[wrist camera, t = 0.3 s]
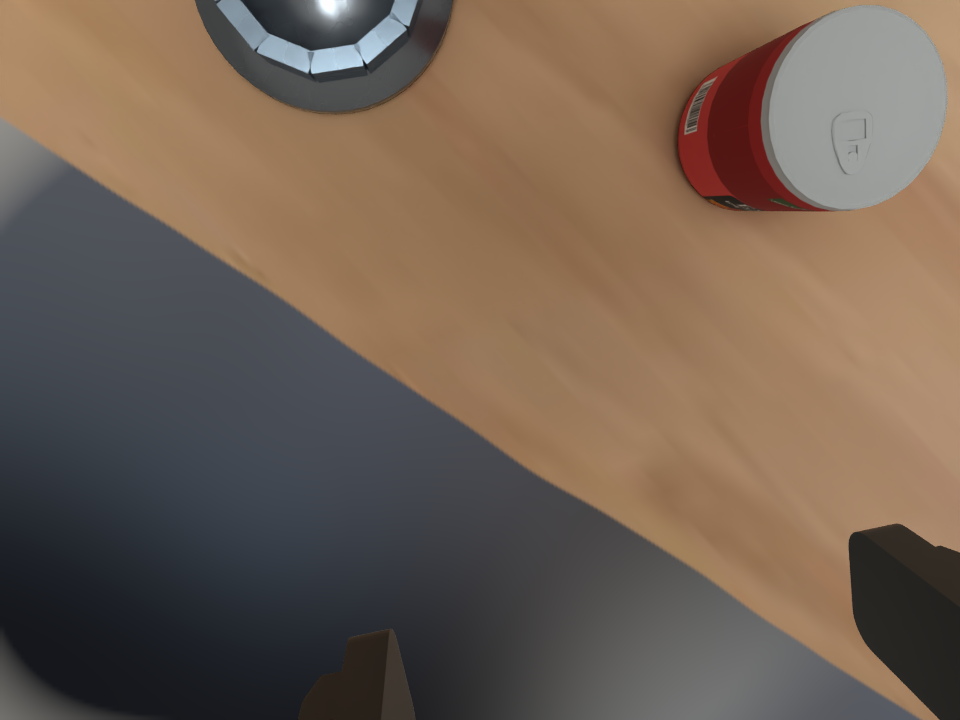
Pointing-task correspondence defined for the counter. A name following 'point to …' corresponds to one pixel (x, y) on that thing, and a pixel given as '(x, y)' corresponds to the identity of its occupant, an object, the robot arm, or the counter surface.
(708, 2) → the counter surface
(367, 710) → the robot arm
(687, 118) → the canned food
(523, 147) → the counter surface
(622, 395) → the counter surface
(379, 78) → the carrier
